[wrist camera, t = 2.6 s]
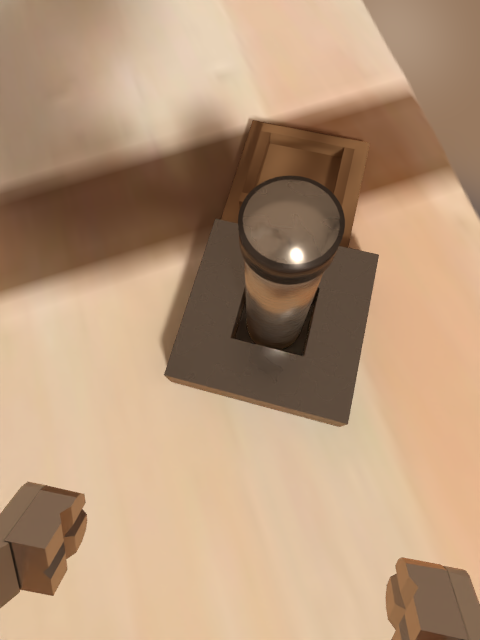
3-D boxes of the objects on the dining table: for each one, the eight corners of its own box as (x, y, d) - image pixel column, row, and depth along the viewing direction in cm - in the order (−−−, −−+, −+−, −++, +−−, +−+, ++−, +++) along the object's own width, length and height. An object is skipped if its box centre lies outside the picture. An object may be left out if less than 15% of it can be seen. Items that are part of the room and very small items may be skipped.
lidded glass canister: (237, 344, 30) (225, 254, 17) (252, 290, 31) (252, 166, 18) (296, 359, 29) (333, 279, 16) (309, 303, 31) (353, 187, 17)
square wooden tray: (221, 225, 33) (219, 211, 31) (252, 127, 36) (252, 108, 34) (345, 252, 32) (351, 239, 30) (367, 149, 35) (374, 132, 33)
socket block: (171, 381, 29) (164, 375, 27) (218, 235, 33) (215, 218, 30) (339, 426, 28) (347, 424, 26) (369, 270, 31) (378, 254, 29)
